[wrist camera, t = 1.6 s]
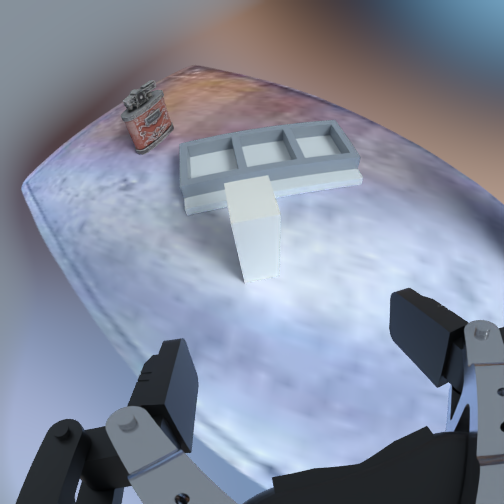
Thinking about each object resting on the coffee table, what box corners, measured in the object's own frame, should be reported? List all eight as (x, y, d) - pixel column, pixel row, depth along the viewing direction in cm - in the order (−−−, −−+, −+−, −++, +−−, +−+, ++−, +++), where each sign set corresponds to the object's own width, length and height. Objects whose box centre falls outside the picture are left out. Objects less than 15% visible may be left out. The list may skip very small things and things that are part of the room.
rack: (328, 130, 40) (330, 113, 37) (361, 184, 34) (366, 166, 31) (184, 153, 39) (179, 136, 36) (187, 215, 33) (180, 198, 30)
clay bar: (270, 243, 30) (268, 175, 22) (279, 276, 28) (280, 214, 20) (238, 249, 30) (223, 183, 22) (244, 283, 28) (230, 223, 20)
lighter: (145, 156, 40) (124, 104, 31) (132, 152, 41) (110, 103, 32) (178, 127, 43) (163, 77, 35) (164, 124, 44) (149, 76, 36)
